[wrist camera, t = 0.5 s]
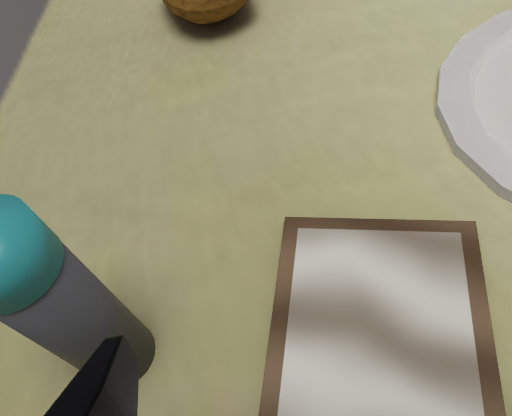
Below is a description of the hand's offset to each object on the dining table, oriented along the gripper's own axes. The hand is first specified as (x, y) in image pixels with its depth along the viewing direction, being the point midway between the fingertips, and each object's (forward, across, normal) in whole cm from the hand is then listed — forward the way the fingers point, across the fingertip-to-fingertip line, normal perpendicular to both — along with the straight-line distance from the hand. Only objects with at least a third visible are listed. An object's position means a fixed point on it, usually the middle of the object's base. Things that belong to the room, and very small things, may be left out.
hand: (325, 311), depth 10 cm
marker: (+11, +12, +14) cm, 21 cm away
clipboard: (+10, -3, +14) cm, 17 cm away
